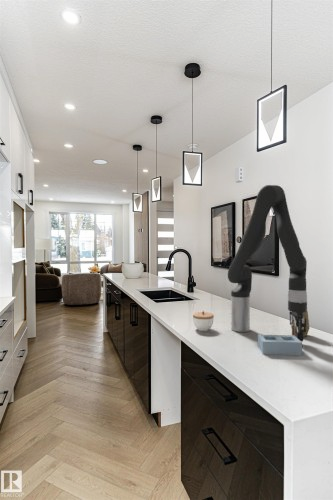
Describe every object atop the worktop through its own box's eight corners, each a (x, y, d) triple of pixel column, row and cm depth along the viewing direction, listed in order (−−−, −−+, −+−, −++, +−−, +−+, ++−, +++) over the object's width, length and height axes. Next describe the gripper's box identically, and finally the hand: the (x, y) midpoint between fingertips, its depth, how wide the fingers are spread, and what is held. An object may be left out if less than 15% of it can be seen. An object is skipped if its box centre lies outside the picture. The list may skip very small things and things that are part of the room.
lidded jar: (213, 333, 143) (213, 314, 143) (191, 331, 145) (191, 313, 145) (214, 327, 153) (214, 309, 153) (194, 326, 155) (193, 308, 155)
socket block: (257, 346, 123) (257, 334, 123) (294, 347, 122) (294, 335, 122) (262, 354, 114) (262, 341, 114) (302, 355, 113) (302, 342, 113)
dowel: (292, 343, 127) (292, 320, 127) (299, 343, 127) (299, 320, 126) (295, 345, 124) (295, 322, 124) (302, 345, 124) (302, 322, 123)
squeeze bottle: (299, 331, 144) (299, 295, 144) (313, 336, 136) (313, 298, 136) (287, 333, 141) (287, 296, 141) (300, 338, 133) (300, 299, 133)
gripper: (283, 297, 132) (283, 333, 133) (294, 303, 118) (294, 344, 118) (300, 297, 132) (300, 333, 132) (313, 303, 117) (313, 344, 118)
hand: (297, 338), depth 125 cm, fingers open, 6 cm apart
